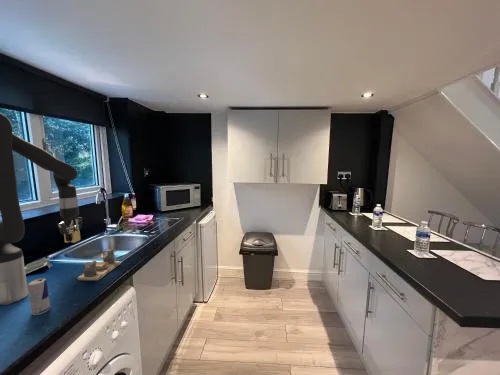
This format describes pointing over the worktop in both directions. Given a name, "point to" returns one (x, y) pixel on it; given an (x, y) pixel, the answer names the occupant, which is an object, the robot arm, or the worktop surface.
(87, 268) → the shafts
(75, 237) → the slotted brass block
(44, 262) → the metal bracket
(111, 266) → the coupling base
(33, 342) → the worktop surface
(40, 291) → the energy drink
